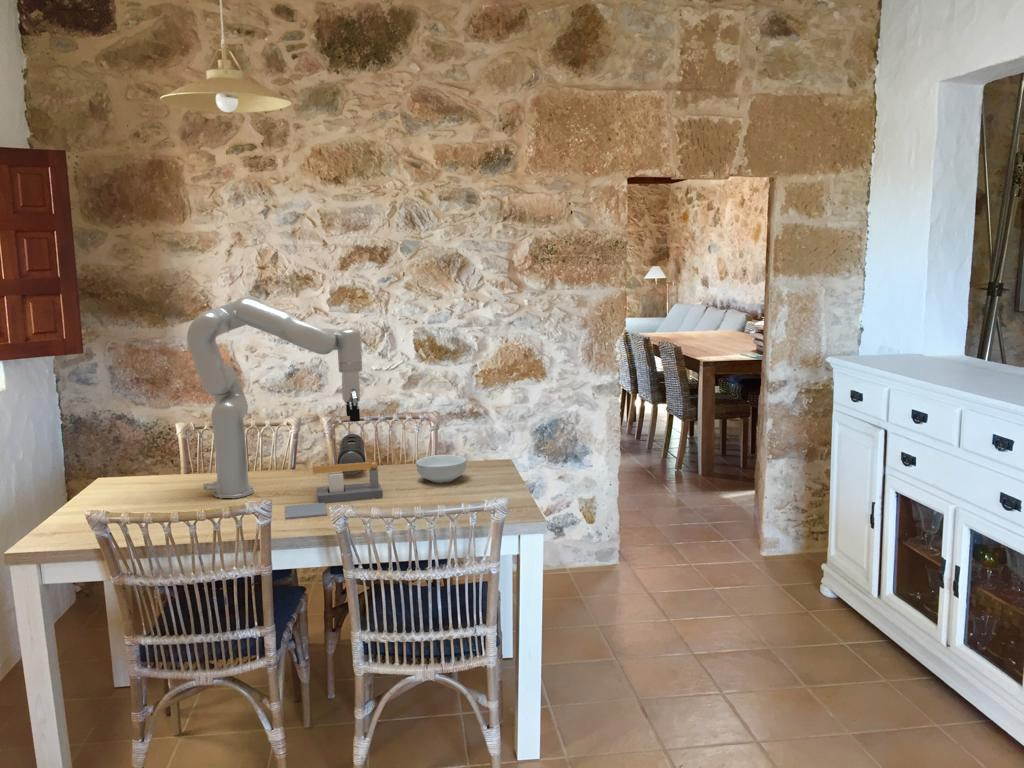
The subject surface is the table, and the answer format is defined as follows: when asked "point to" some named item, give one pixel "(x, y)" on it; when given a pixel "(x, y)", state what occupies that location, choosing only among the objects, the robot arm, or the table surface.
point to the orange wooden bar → (345, 467)
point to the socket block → (353, 491)
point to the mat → (305, 510)
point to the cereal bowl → (441, 467)
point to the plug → (336, 482)
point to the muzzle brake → (351, 452)
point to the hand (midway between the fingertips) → (353, 418)
